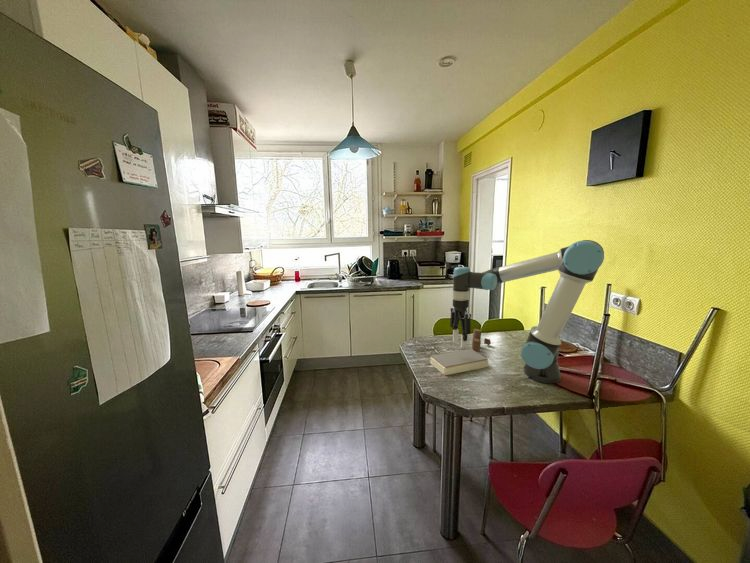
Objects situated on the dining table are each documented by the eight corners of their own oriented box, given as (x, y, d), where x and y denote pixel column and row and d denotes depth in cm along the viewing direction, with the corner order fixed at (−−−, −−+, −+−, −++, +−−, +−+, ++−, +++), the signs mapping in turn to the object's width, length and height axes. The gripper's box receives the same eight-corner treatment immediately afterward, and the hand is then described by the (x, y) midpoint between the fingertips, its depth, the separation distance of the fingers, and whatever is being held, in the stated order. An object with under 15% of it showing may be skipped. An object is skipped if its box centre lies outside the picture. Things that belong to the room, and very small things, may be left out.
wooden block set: (480, 356, 157) (483, 338, 155) (465, 351, 162) (467, 334, 160) (490, 346, 172) (492, 329, 170) (475, 342, 177) (477, 326, 175)
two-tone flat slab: (488, 366, 145) (488, 359, 144) (444, 375, 137) (445, 367, 137) (470, 356, 158) (471, 349, 157) (430, 363, 150) (430, 356, 149)
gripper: (480, 302, 134) (478, 350, 138) (455, 294, 152) (454, 336, 156) (466, 304, 132) (464, 352, 136) (443, 295, 150) (442, 338, 154)
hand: (459, 344), depth 146 cm, fingers open, 6 cm apart
